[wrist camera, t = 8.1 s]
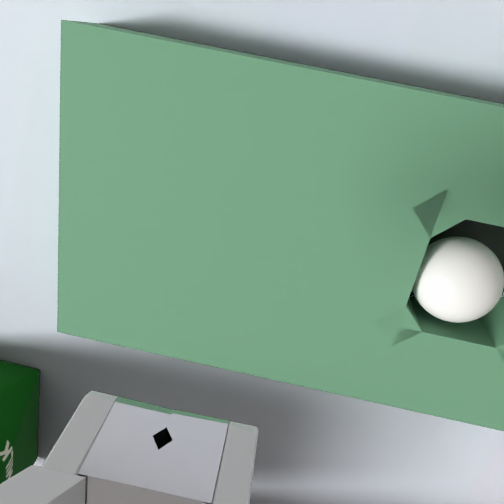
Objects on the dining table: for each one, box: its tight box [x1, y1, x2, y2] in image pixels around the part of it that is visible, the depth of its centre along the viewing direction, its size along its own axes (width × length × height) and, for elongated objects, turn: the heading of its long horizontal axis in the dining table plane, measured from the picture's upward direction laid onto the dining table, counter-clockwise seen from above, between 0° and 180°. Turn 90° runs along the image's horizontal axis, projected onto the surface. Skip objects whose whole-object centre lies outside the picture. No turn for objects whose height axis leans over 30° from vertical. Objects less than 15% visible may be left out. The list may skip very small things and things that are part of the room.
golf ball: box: [412, 236, 504, 323], centre depth 20 cm, size 4×4×4 cm
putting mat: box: [57, 20, 504, 431], centre depth 20 cm, size 22×13×3 cm, turn 80°
